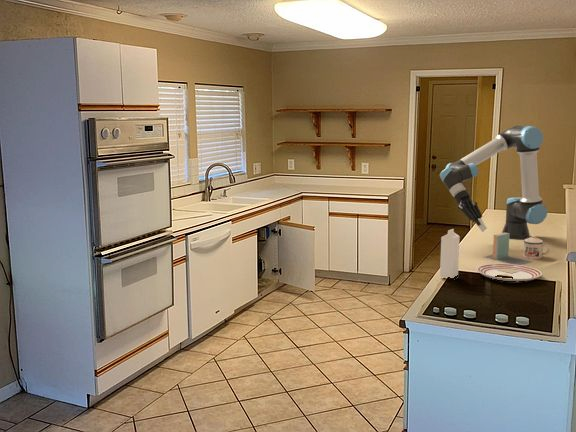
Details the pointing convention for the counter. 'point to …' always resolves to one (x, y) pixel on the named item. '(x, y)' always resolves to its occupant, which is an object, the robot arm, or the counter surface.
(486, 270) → the dinner plate
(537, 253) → the teacup with lid
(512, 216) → the robot arm
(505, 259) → the mat
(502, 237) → the peach box
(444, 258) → the milk
